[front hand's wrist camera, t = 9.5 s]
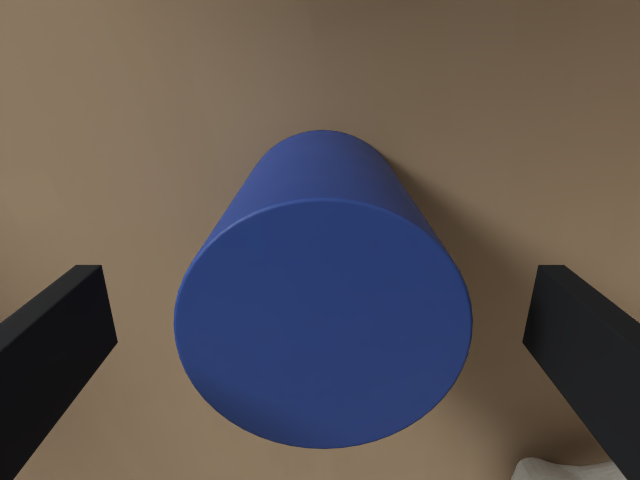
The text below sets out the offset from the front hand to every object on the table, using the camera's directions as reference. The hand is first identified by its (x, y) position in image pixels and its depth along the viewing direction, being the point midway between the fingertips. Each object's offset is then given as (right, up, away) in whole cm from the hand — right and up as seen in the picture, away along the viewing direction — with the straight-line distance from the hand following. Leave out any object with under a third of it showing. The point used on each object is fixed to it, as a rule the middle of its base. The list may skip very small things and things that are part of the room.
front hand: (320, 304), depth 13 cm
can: (0, +3, +7) cm, 8 cm away
